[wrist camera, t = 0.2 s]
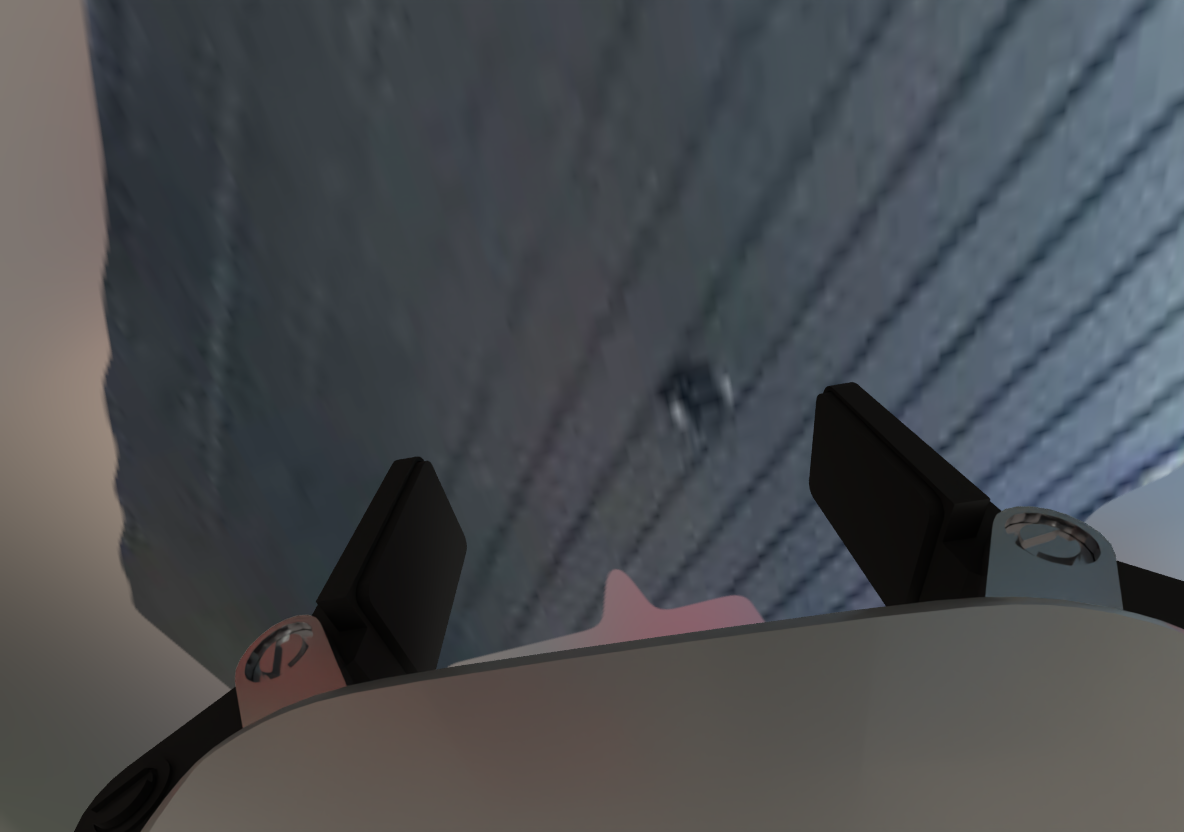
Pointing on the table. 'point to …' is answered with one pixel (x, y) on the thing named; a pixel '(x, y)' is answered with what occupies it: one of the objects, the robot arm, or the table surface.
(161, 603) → the table surface
